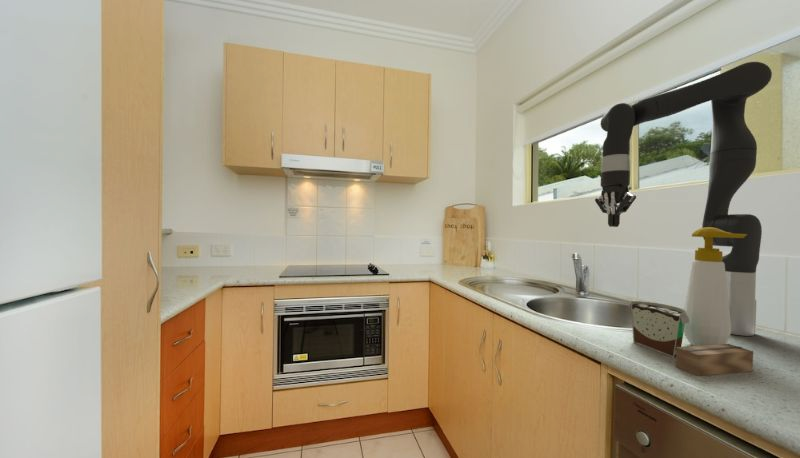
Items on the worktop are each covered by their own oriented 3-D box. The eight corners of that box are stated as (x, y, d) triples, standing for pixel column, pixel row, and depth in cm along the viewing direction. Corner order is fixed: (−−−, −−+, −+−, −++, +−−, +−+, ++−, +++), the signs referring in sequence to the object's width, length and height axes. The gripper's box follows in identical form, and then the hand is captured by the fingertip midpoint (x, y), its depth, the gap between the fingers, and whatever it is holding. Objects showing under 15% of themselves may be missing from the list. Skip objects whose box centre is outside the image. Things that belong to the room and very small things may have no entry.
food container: (703, 358, 68) (704, 313, 68) (681, 360, 67) (683, 314, 67) (647, 338, 80) (648, 300, 80) (627, 339, 79) (629, 300, 79)
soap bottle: (738, 362, 67) (743, 226, 66) (675, 346, 75) (679, 226, 75) (746, 349, 74) (751, 228, 74) (688, 336, 83) (692, 227, 82)
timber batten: (728, 362, 66) (728, 343, 66) (752, 371, 63) (753, 350, 63) (675, 366, 64) (676, 346, 64) (697, 375, 60) (698, 354, 60)
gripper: (645, 168, 91) (643, 227, 91) (607, 175, 104) (605, 227, 104) (624, 166, 90) (622, 226, 90) (588, 173, 103) (586, 226, 103)
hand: (613, 226), depth 97 cm, fingers closed
